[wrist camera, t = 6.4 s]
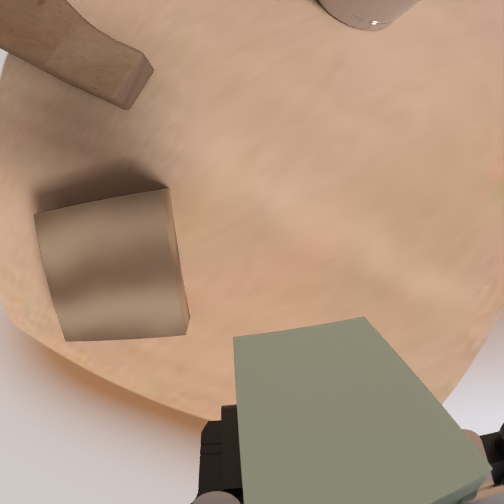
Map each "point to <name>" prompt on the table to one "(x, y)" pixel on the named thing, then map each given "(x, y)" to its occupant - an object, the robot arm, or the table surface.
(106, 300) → the brown tapered block
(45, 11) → the wooden block
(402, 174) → the table surface
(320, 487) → the green block
